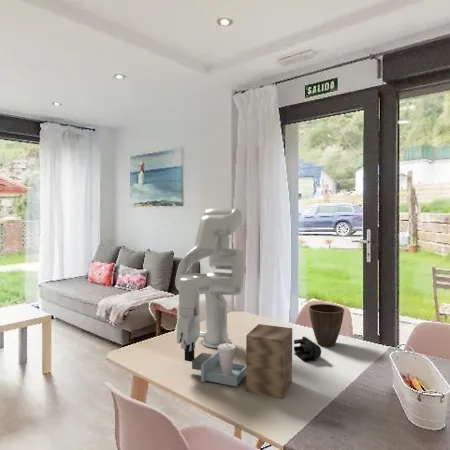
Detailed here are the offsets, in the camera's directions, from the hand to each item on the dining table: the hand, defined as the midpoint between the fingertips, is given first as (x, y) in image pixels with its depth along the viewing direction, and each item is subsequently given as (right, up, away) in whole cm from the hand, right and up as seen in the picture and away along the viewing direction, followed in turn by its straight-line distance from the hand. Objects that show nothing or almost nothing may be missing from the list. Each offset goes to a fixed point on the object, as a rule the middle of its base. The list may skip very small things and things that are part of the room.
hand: (189, 360), depth 138 cm
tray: (+11, -4, -4) cm, 12 cm away
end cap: (+46, -4, +13) cm, 48 cm away
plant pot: (+58, -3, +28) cm, 64 cm away
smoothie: (+14, -3, -5) cm, 15 cm away
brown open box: (+28, -5, -12) cm, 31 cm away
